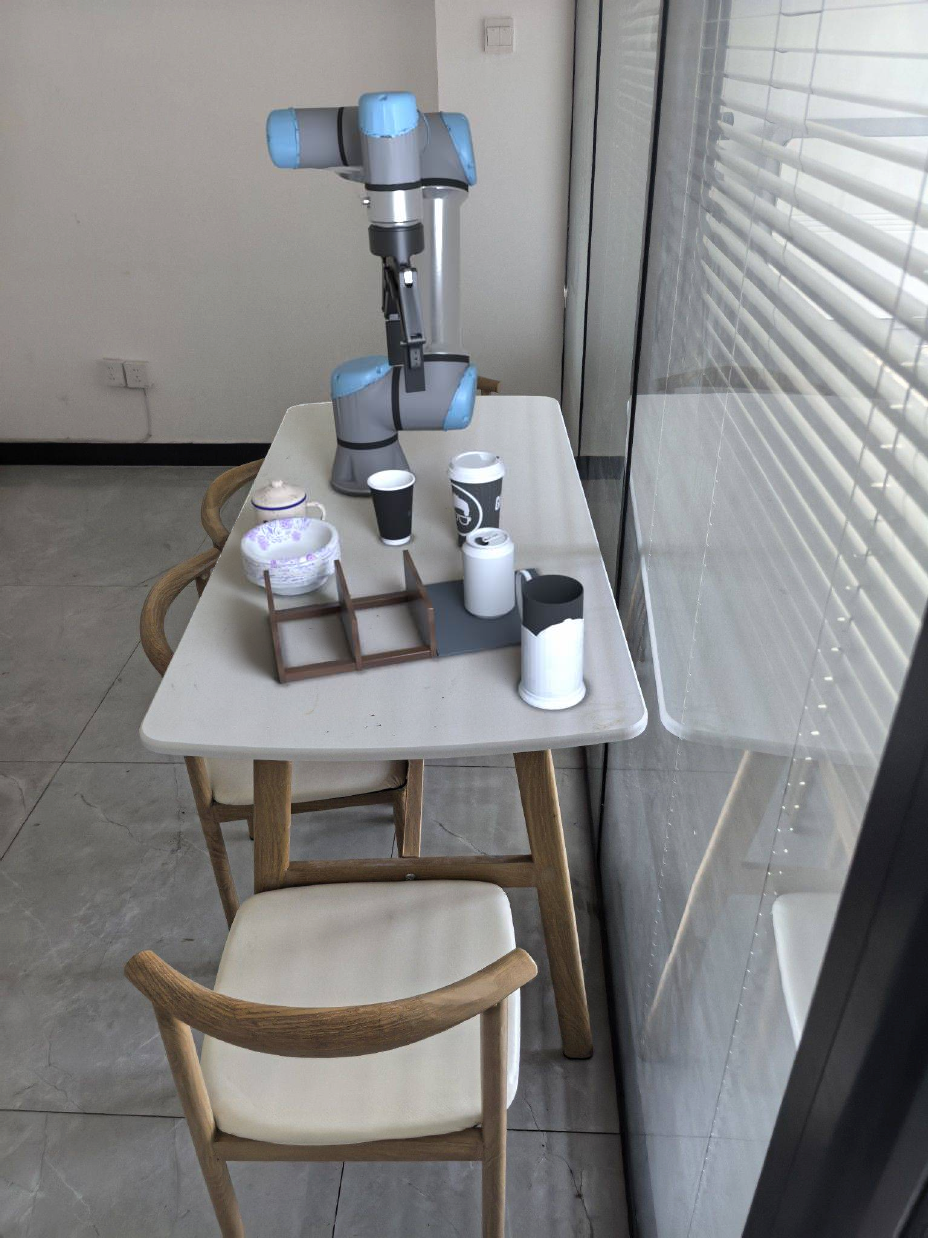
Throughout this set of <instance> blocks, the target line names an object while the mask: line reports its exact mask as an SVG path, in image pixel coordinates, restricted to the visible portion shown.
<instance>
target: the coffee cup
mask: <svg viewBox="0 0 928 1238" xmlns="http://www.w3.org/2000/svg"><path fill="white" fill-rule="evenodd" d="M506 473H507V469H506V465H505V463H504V462H503V461H502V459H501V456H500V455H499V454H497V453H495V452H493V451H489V450H481V449H479V450H478V449H477V450H476V449H475V450H466V451H462V452H459V453H457V454H455V455H453V456H452V457H451V460H450V463H449V464H448V466H447V469H446V475H447V477H448V478H449V480H450V487H451V493H452V494H451V495H452V500H453V501H452V502H453V508H454V517H455V523H456V530H457V537H458V544H459V547H460V548H461V549H462V545H463V544H464V542H465V541H466V536H467V535H468V534H469V533H470V532H472V531H473V530H476V529H480V528H498V529H500V517H501V516H500V515H501V503H502V502H501V501H502V490H503V477H504V476H505V474H506Z"/></svg>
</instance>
